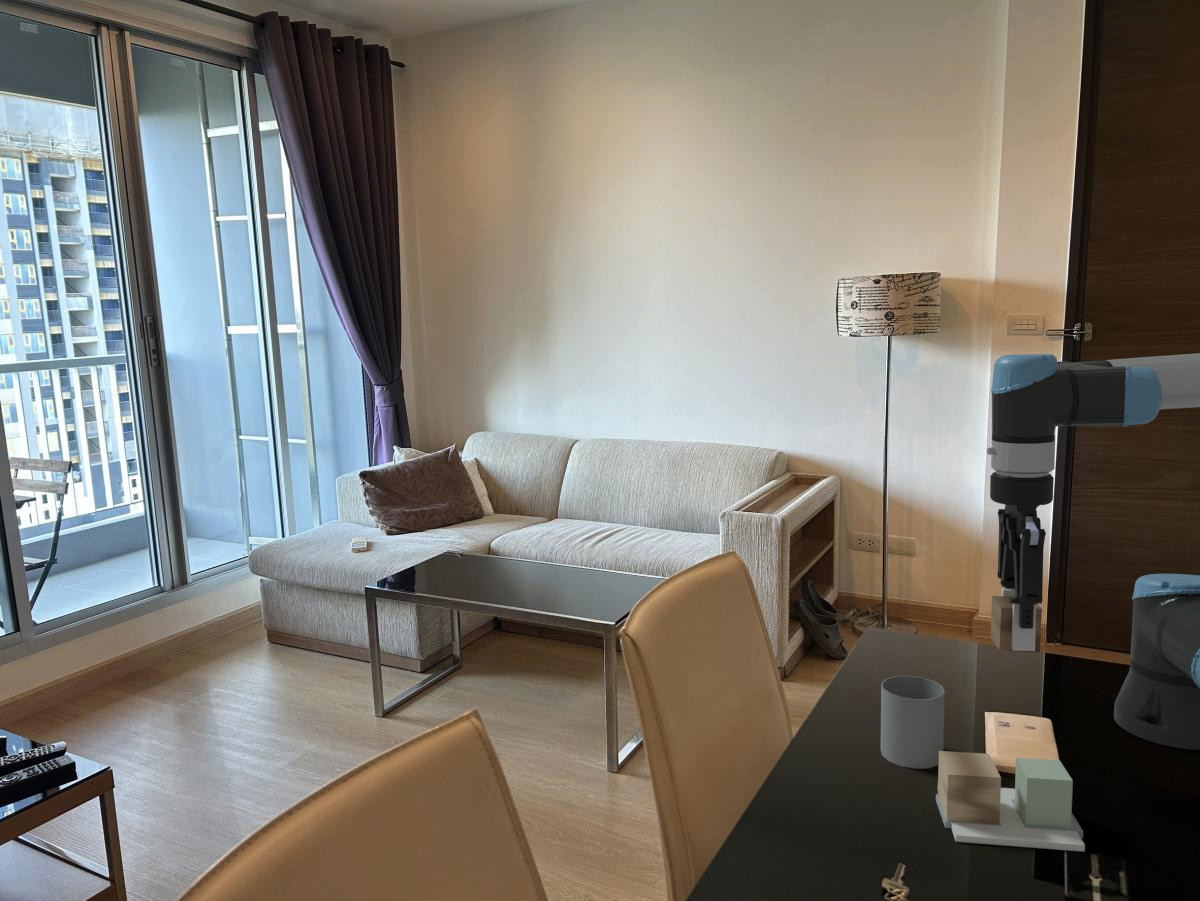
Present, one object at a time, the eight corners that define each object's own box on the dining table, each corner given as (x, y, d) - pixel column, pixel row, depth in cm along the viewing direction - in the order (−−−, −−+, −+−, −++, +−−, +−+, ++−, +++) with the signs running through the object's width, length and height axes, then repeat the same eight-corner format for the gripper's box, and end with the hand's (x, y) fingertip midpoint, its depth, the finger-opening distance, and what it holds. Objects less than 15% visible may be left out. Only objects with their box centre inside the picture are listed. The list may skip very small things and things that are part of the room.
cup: (947, 770, 120) (949, 701, 119) (884, 766, 122) (885, 698, 121) (936, 742, 129) (938, 677, 127) (878, 738, 130) (878, 674, 129)
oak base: (987, 798, 112) (989, 753, 111) (999, 824, 106) (1001, 777, 105) (937, 795, 113) (938, 750, 112) (946, 820, 107) (947, 774, 106)
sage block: (1057, 805, 109) (1059, 760, 109) (1070, 827, 105) (1072, 780, 104) (1014, 802, 110) (1016, 757, 110) (1025, 824, 106) (1027, 777, 105)
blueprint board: (1058, 797, 113) (1058, 791, 113) (1091, 852, 101) (1091, 845, 101) (932, 788, 116) (932, 782, 116) (949, 841, 104) (949, 834, 104)
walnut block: (1029, 639, 121) (1031, 597, 120) (1039, 652, 116) (1041, 608, 115) (990, 637, 122) (992, 595, 121) (999, 650, 117) (1001, 607, 116)
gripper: (976, 462, 125) (973, 619, 128) (1008, 484, 108) (1004, 666, 111) (1032, 461, 124) (1028, 620, 127) (1075, 484, 106) (1069, 668, 109)
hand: (1017, 641), depth 119 cm, fingers closed on walnut block, 5 cm apart
